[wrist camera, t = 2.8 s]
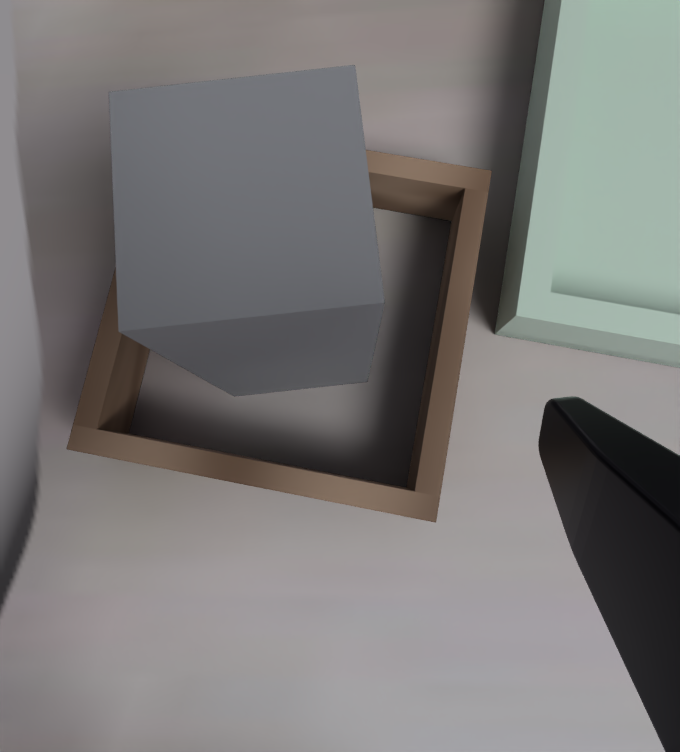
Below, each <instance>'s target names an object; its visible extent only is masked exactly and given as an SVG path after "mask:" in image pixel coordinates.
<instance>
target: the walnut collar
mask: <svg viewBox="0 0 680 752" xmlns="http://www.w3.org/2000/svg"><path fill="white" fill-rule="evenodd" d="M366 156H367V164H368V172H369V180H370V188H371V196H372V204H373V208H379V209H385V210H391V211H397V212H402V213H408V214H414V215H420V216H426V217H432V218H438V219H444V220H449V221H451V227H450V232H449V238H448V244H447V250H446V256H445V262H444V268H443V274H442V280H441V286H440V292H439V298H438V304H437V309H436V315H435V321H434V327H433V333H432V339H431V345H430V351H429V357H428V363H427V369H426V375H425V381H424V386H423V392H422V398H421V404H420V410H419V416H418V422H417V428H416V434H415V440H414V446H413V452H412V458H411V463H410V469H409V475H408V481H407V487H406V488H405V487H400V486H395V485H390V484H385V483H380V482H375V481H369V480H364V479H359V478H354V477H349V476H344V475H339V474H334V473H329V472H323V471H318V470H313V469H308V468H303V467H298V466H293V465H288V464H283V463H277V462H272V461H267V460H262V459H257V458H252V457H247V456H242V455H237V454H231V453H226V452H221V451H216V450H211V449H206V448H201V447H196V446H191V445H185V444H180V443H175V442H170V441H165V440H160V439H155V438H150V437H145V436H140V435H134V434H129V430H130V426H131V422H132V418H133V414H134V410H135V406H136V402H137V399H138V395H139V391H140V387H141V383H142V379H143V375H144V371H145V367H146V363H147V359H148V355H149V351H150V349H149V348H147V347H145V346H143V345H142V344H140V343H138V342H136V341H134V340H133V339H131V338H129V337H127V336H126V335H124V334H122V333H120V332H119V330H118V305H117V281H116V267H115V271H114V275H113V278H112V282H111V286H110V290H109V293H108V297H107V301H106V304H105V308H104V312H103V315H102V319H101V323H100V327H99V330H98V334H97V338H96V341H95V345H94V349H93V353H92V356H91V360H90V364H89V367H88V371H87V375H86V378H85V382H84V386H83V390H82V393H81V397H80V401H79V404H78V408H77V412H76V415H75V419H74V423H73V427H72V430H71V434H70V438H69V441H68V445H67V449H68V450H73V451H78V452H83V453H88V454H93V455H98V456H103V457H108V458H113V459H118V460H123V461H128V462H134V463H139V464H144V465H149V466H154V467H159V468H164V469H169V470H174V471H179V472H184V473H189V474H194V475H199V476H204V477H209V478H214V479H219V480H224V481H229V482H234V483H239V484H244V485H249V486H254V487H260V488H265V489H270V490H275V491H280V492H285V493H290V494H295V495H300V496H305V497H310V498H315V499H320V500H325V501H330V502H335V503H340V504H345V505H350V506H355V507H360V508H365V509H370V510H375V511H381V512H386V513H391V514H396V515H401V516H406V517H411V518H416V519H421V520H426V521H431V522H436V519H437V513H438V507H439V500H440V494H441V488H442V481H443V475H444V469H445V462H446V456H447V450H448V444H449V437H450V431H451V425H452V418H453V412H454V406H455V399H456V393H457V387H458V381H459V374H460V368H461V362H462V355H463V349H464V343H465V336H466V330H467V324H468V318H469V311H470V305H471V299H472V292H473V286H474V280H475V273H476V267H477V261H478V254H479V248H480V242H481V236H482V229H483V223H484V217H485V210H486V204H487V198H488V191H489V185H490V179H491V173H492V171H490V170H484V169H478V168H472V167H466V166H459V165H453V164H447V163H441V162H435V161H429V160H423V159H417V158H411V157H405V156H399V155H393V154H387V153H381V152H375V151H369V150H366Z"/></svg>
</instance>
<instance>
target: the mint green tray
mask: <svg viewBox="0 0 680 752" xmlns="http://www.w3.org/2000/svg"><path fill="white" fill-rule="evenodd" d="M495 335H501V336H506V337H512V338H517V339H523V340H528V341H534V342H540V343H545V344H551V345H556V346H562V347H567V348H573V349H578V350H584V351H589V352H595V353H601V354H606V355H612V356H617V357H623V358H628V359H634V360H639V361H645V362H651V363H656V364H662V365H667V366H673V367H678V368H680V0H545V2H544V9H543V15H542V22H541V29H540V35H539V42H538V49H537V55H536V62H535V69H534V75H533V82H532V89H531V95H530V102H529V109H528V115H527V122H526V129H525V135H524V142H523V149H522V155H521V162H520V169H519V175H518V182H517V189H516V195H515V202H514V209H513V215H512V222H511V229H510V235H509V242H508V249H507V255H506V262H505V269H504V275H503V282H502V289H501V295H500V302H499V309H498V315H497V322H496V329H495Z"/></svg>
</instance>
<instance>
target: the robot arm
mask: <svg viewBox="0 0 680 752" xmlns="http://www.w3.org/2000/svg"><path fill="white" fill-rule="evenodd" d="M539 453H540V457H541V460H542V463H543V466H544V469H545V472H546V475H547V478H548V481H549V484H550V487H551V490H552V493H553V496H554V499H555V502H556V505H557V508H558V511H559V514H560V517H561V520H562V523H563V526H564V529H565V532H566V535H567V538H568V541H569V543H570V546H571V549H572V551H573V554H574V556H575V558H576V561H577V563H578V565H579V567H580V570H581V572H582V574H583V576H584V578H585V580H586V582H587V585H588V587H589V589H590V591H591V593H592V595H593V597H594V600H595V602H596V604H597V606H598V608H599V610H600V612H601V615H602V617H603V619H604V621H605V623H606V625H607V627H608V630H609V632H610V634H611V636H612V638H613V640H614V642H615V645H616V647H617V649H618V651H619V653H620V655H621V657H622V660H623V662H624V664H625V666H626V668H627V670H628V672H629V675H630V677H631V679H632V681H633V683H634V685H635V687H636V690H637V692H638V694H639V696H640V698H641V700H642V702H643V705H644V707H645V709H646V711H647V713H648V715H649V717H650V720H651V722H652V724H653V726H654V728H655V730H656V732H657V735H658V737H659V739H660V741H661V743H662V745H663V747H664V750H665V752H680V455H678V454H676V453H674V452H673V451H671V450H669V449H667V448H666V447H664V446H662V445H661V444H659V443H657V442H655V441H654V440H652V439H650V438H648V437H647V436H645V435H643V434H642V433H640V432H638V431H636V430H635V429H633V428H631V427H630V426H628V425H626V424H624V423H623V422H621V421H619V420H617V419H616V418H614V417H612V416H611V415H609V414H607V413H605V412H604V411H602V410H600V409H598V408H597V407H595V406H593V405H592V404H590V403H588V402H586V401H585V400H583V399H581V398H579V397H563V398H554V399H551V400H549V401H548V402H547V403H546V405H545V408H544V414H543V419H542V425H541V430H540V436H539Z"/></svg>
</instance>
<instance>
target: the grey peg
mask: <svg viewBox="0 0 680 752" xmlns="http://www.w3.org/2000/svg"><path fill="white" fill-rule="evenodd" d="M109 110H110V135H111V159H112V183H113V208H114V232H115V256H116V281H117V305H118V330H119V332H120V333H122V334H124V335H126V336H127V337H129V338H131V339H133V340H134V341H136V342H138V343H140V344H142V345H143V346H145V347H147V348H149V349H151V350H152V351H154V352H156V353H158V354H159V355H161V356H163V357H165V358H167V359H168V360H170V361H172V362H174V363H176V364H177V365H179V366H181V367H183V368H184V369H186V370H188V371H190V372H192V373H193V374H195V375H197V376H199V377H201V378H202V379H204V380H206V381H208V382H209V383H211V384H213V385H215V386H217V387H218V388H220V389H222V390H224V391H226V392H227V393H229V394H231V395H233V396H243V395H252V394H261V393H270V392H279V391H288V390H298V389H307V388H316V387H325V386H334V385H343V384H353V383H362V382H367V381H368V377H369V372H370V368H371V363H372V359H373V354H374V349H375V345H376V340H377V336H378V331H379V327H380V322H381V318H382V313H383V309H384V304H385V300H384V292H383V284H382V276H381V268H380V260H379V252H378V244H377V236H376V228H375V220H374V212H373V204H372V196H371V188H370V180H369V172H368V164H367V156H366V148H365V141H364V133H363V125H362V117H361V109H360V101H359V93H358V85H357V77H356V69H355V65H349V66H340V67H331V68H322V69H313V70H304V71H295V72H285V73H276V74H267V75H258V76H249V77H240V78H231V79H222V80H213V81H203V82H194V83H185V84H176V85H167V86H158V87H149V88H140V89H131V90H121V91H112V92H109Z"/></svg>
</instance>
